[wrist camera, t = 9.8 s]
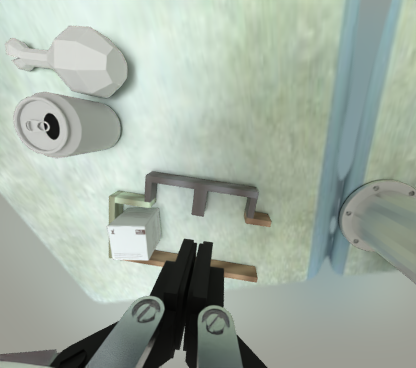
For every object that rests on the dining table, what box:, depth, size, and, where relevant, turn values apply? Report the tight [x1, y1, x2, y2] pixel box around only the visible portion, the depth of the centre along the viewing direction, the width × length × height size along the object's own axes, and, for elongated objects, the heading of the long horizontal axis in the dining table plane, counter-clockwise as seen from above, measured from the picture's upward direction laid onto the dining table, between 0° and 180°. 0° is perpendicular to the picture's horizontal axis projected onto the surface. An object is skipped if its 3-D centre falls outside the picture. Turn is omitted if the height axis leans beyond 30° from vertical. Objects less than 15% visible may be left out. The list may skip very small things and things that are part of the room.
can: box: [13, 92, 121, 158], centre depth 28 cm, size 8×8×12 cm
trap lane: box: [109, 172, 271, 282], centre depth 36 cm, size 27×16×3 cm, turn 82°
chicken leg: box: [5, 26, 128, 98], centre depth 29 cm, size 8×18×8 cm, turn 81°
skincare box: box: [107, 208, 161, 261], centre depth 34 cm, size 6×6×7 cm
